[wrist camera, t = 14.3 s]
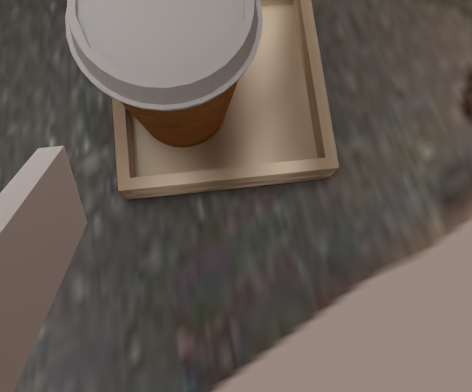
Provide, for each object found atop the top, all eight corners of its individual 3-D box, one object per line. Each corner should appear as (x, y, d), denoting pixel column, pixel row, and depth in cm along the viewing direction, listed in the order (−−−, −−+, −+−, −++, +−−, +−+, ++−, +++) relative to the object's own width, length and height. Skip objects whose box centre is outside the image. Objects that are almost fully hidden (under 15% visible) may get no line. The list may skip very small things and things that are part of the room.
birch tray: (299, 1, 35) (306, -25, 32) (328, 178, 32) (339, 167, 29) (115, 16, 34) (105, -9, 31) (127, 199, 31) (118, 191, 28)
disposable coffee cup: (98, 73, 32) (27, -49, 20) (217, 28, 33) (216, -113, 21) (145, 190, 30) (98, 130, 19) (269, 139, 32) (299, 52, 20)
